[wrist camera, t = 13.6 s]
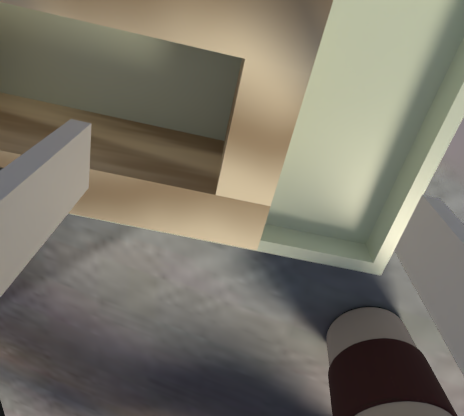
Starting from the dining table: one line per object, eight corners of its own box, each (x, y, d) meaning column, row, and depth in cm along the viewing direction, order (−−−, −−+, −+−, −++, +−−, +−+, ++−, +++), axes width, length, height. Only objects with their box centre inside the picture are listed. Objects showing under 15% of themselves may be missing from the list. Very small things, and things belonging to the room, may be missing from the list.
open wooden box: (255, 186, 30) (257, 250, 23) (-48, 123, 28) (-145, 171, 21) (308, -8, 23) (333, -1, 16) (-82, -104, 22) (-238, -141, 15)
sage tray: (370, 252, 33) (380, 275, 30) (-79, 161, 30) (-110, 178, 28) (512, -41, 22) (547, -43, 20) (-155, -217, 20) (-215, -245, 17)
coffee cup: (291, 346, 39) (311, 530, 26) (352, 277, 34) (413, 459, 21) (374, 379, 41) (431, 565, 28) (442, 318, 36) (547, 508, 23)
